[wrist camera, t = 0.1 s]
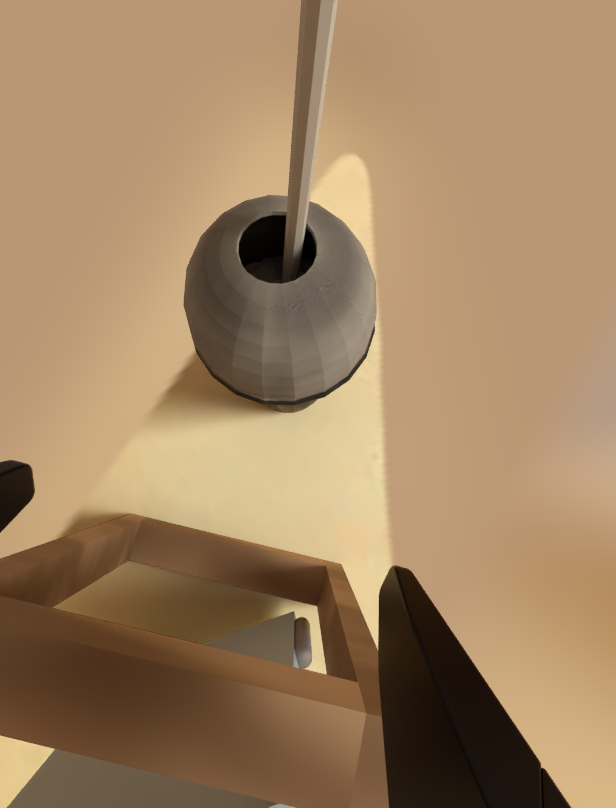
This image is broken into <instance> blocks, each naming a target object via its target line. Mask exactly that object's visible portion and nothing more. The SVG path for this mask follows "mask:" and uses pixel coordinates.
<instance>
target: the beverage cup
mask: <svg viewBox="0 0 616 808" xmlns="http://www.w3.org/2000/svg"><path fill="white" fill-rule="evenodd" d="M337 3H338V0H301V13H300V28H299V42H298V56H297V71H296V87H295V100H294V114H293V129H292V143H291V159H290V173H289V187H288V196H277V195H268V196H264V197H259V198H255V199H251V200H247V201H244V202H242V203H240V204H238V205H237V206H235V207H233V208H231V209H230V210H228V211H226V212H224V213H223V214H222V215H221V216H219V217H218V219H217V220H216V221H215V222H214V223H213V224H212V225H211V226H210V227H209V228H208V229H207V230H206V232H204V233H203V235H202V236H201V237H200V240H199V242H198V244H197V246H196V248H195V250H194V253H193V255H192V257H191V259H190V261H189V264H188V267H187V270H186V281H185V292H184V308H185V312H186V316H187V320H188V323H189V327H190V331H191V335H192V339H193V342H194V345H195V349H196V353H197V354H198V356H199V357H200V359H201V360H202V362H203V363H204V365H205V366H206V368H207V369H208V371H209V372H210V374H211V375H212V377H214V378H215V379H216V380H218V381H219V382H220V383H221V384H223V385H224V386H225V387H227V388H228V389H229V390H231V391H232V392H233V393H235V394H236V395H238V396H241V397H244V398H247V399H250V400H253V401H256V402H259V403H261V404H264V405H268V406H270V407H271V408H273V409H275V410H278V411H281V412H289V413H294V412H297V411H301V410H303V409H305V408H307V407H308V406H310V405H311V404H313V403H314V402H315V401H316V400H317V399H319V398H323V397H325V396H327V395H328V394H330V393H331V392H333V391H334V390H336V389H337V388H339V387H340V386H341V385H343V384H344V383H346V382H347V381H349V380H350V378H351V377H352V376H353V374H354V373H355V372H356V370H357V369H358V368H359V366H360V365H361V364H362V362H363V361H364V360H365V358H366V357H367V353H368V350H369V347H370V344H371V341H372V338H373V335H374V332H375V321H376V282H375V278H374V274H373V271H372V269H371V266H370V263H369V260H368V258H367V255H366V252H365V250H364V248H363V246H362V245H361V243H360V242H359V241H358V239H357V238H356V237H355V235H354V234H353V233H352V232H351V230H350V229H349V228H348V227H347V225H346V224H345V223H344V222H343V221H342V220H340V219H339V218H337V217H336V216H334V215H333V214H331V213H330V212H329V211H327V210H326V209H324V208H323V207H321V206H320V205H318V204H316V203H313V202H310V201H309V200H310V193H311V186H312V179H313V172H314V165H315V158H316V151H317V144H318V136H319V130H320V123H321V115H322V109H323V101H324V94H325V87H326V80H327V73H328V66H329V59H330V52H331V45H332V38H333V31H334V23H335V17H336V10H337Z"/></svg>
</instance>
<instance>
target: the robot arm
mask: <svg viewBox="0 0 616 808" xmlns="http://www.w3.org/2000/svg"><path fill="white" fill-rule="evenodd" d="M34 492H35V488H34V480H33V472H32V468H31V466H30V465H28V464H25V463H22V462H18V461H14V460H9V461H4V462H0V532H1V531H2V530H3V529H4V528H5V527H6V526H7V525H8V524H9V523H10V522H11V521H12V520H13V519H14V518H15V517H16V516H17V514H18V513H19V512H20V511H21V510H22V509H23V508H24V507H25V506H26V505H27V504H28V503H29V502H30V501H31V499H32V498H33V495H34ZM378 675H379V690H380V702H381V715H382V727H383V739H384V752H385V764H386V777H387V789H388V801H389V808H571V807H570V805H569V804H568V802H567V801H566V799H565V798H564V796H563V795H562V793H561V792H560V791H559V789H558V787H557V786H556V785H555V783H554V782H553V780H552V779H551V777H550V776H549V774H548V773H547V771H546V770H545V769H544V768H541V763H540V761H539V760H538V758H537V757H536V755H535V754H534V752H533V751H532V749H531V748H530V746H529V745H528V743H527V742H526V740H525V739H524V737H523V736H522V734H521V733H520V731H519V730H518V729H517V727H516V725H515V724H514V723H513V721H512V720H511V718H510V717H509V715H508V714H507V712H506V711H505V709H504V708H503V706H502V705H501V703H500V702H499V700H498V699H497V697H496V696H495V694H494V693H493V691H492V690H491V688H490V687H489V686H488V684H487V683H486V681H485V680H484V678H483V677H482V675H481V674H480V672H479V671H478V669H477V668H476V667H475V665H474V663H473V662H472V660H471V659H470V657H469V656H468V655H467V653H466V651H465V650H464V649H463V647H462V645H461V644H460V643H459V641H458V640H457V638H456V637H455V635H454V634H453V632H452V631H451V630H450V628H449V626H448V625H447V623H446V622H445V620H444V619H443V617H442V616H441V614H440V613H439V611H438V610H437V608H436V607H435V606H434V604H433V603H432V601H431V600H430V598H429V597H428V595H427V594H426V593H425V591H424V590H423V588H422V586H421V585H420V583H419V582H418V580H417V579H416V577H415V576H414V574H413V573H412V572H411V571H410V570H409V569H407V568H403V567H400V566H396V565H394V566H392V567H391V568H390V570H389V572H388V574H387V576H386V578H385V580H384V582H383V584H382V586H381V589H380V593H379V637H378Z"/></svg>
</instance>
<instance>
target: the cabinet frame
mask: <svg viewBox="0 0 616 808" xmlns="http://www.w3.org/2000/svg"><path fill="white" fill-rule="evenodd" d="M127 561H133V562H137V563H141V564H146V565H150V566H154V567H158V568H162V569H166V570H170V571H175V572H179V573H183V574H187V575H191V576H195V577H199V578H203V579H208V580H212V581H216V582H220V583H224V584H228V585H232V586H236V587H241V588H245V589H249V590H253V591H257V592H261V593H265V594H269V595H274V596H278V597H282V598H286V599H290V600H294V601H298V602H302V603H307V604H311V605H315V606H317V607H318V614H319V622H320V629H321V636H322V643H323V650H324V657H325V664H326V671H327V675H325V674H321V673H317V672H313V671H309V670H305V669H301V668H296V667H292V666H288V665H284V664H280V663H276V662H272V661H268V660H264V659H259V658H255V657H251V656H247V655H243V654H239V653H235V652H231V651H227V650H222V649H218V648H214V647H210V646H206V645H202V644H198V643H194V642H189V641H185V640H181V639H177V638H173V637H169V636H165V635H161V634H157V633H152V632H148V631H144V630H140V629H136V628H132V627H128V626H124V625H120V624H115V623H111V622H107V621H103V620H99V619H95V618H91V617H87V616H83V615H78V614H74V613H70V612H66V611H62V610H58V609H54V608H52V607H54V606H55V605H57V604H59V603H60V602H62V601H64V600H65V599H67V598H68V597H70V596H72V595H73V594H75V593H77V592H78V591H80V590H81V589H83V588H85V587H86V586H88V585H90V584H91V583H93V582H94V581H96V580H98V579H99V578H101V577H103V576H104V575H106V574H107V573H109V572H111V571H112V570H114V569H116V568H117V567H119V566H120V565H122V564H124V563H125V562H127ZM0 735H1V736H5V737H9V738H13V739H17V740H21V741H25V742H29V743H34V744H38V745H42V746H46V747H50V748H54V749H58V750H62V751H66V752H70V753H74V754H79V755H83V756H87V757H91V758H95V759H99V760H103V761H107V762H111V763H115V764H119V765H123V766H128V767H132V768H136V769H140V770H144V771H148V772H152V773H156V774H160V775H164V776H168V777H173V778H177V779H181V780H185V781H189V782H193V783H197V784H201V785H205V786H209V787H213V788H218V789H222V790H226V791H230V792H234V793H238V794H242V795H246V796H250V797H254V798H258V799H262V800H267V801H271V802H275V803H279V804H283V805H287V806H291V807H295V808H389V801H388V789H387V777H386V764H385V752H384V739H383V727H382V715H381V702H380V690H379V675H378V650H377V648H376V645H375V643H374V640H373V638H372V636H371V633H370V631H369V629H368V626H367V624H366V622H365V619H364V617H363V614H362V612H361V610H360V607H359V605H358V603H357V600H356V598H355V595H354V593H353V591H352V588H351V586H350V584H349V581H348V579H347V576H346V574H345V572H344V569H343V567H342V565H341V564H337V563H333V562H329V561H325V560H321V559H316V558H312V557H308V556H304V555H300V554H296V553H292V552H288V551H283V550H279V549H275V548H271V547H267V546H263V545H259V544H254V543H250V542H246V541H242V540H238V539H234V538H230V537H225V536H221V535H217V534H213V533H209V532H205V531H201V530H197V529H192V528H188V527H184V526H180V525H176V524H172V523H168V522H163V521H159V520H155V519H151V518H147V517H143V516H139V515H135V514H129V515H127V516H124V517H121V518H118V519H115V520H112V521H109V522H106V523H103V524H100V525H97V526H94V527H91V528H89V529H86V530H83V531H80V532H77V533H74V534H71V535H68V536H65V537H62V538H59V539H56V540H54V541H51V542H48V543H45V544H42V545H39V546H36V547H33V548H30V549H27V550H24V551H21V552H19V553H16V554H13V555H10V556H7V557H4V558H1V559H0Z"/></svg>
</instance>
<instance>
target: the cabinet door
mask: <svg viewBox="0 0 616 808" xmlns="http://www.w3.org/2000/svg"><path fill="white" fill-rule="evenodd" d="M201 644H202V645H206V646H210V647H214V648H218V649H222V650H227V651H231V652H235V653H239V654H243V655H247V656H251V657H255V658H259V659H264V660H268V661H272V662H276V663H280V664H284V665H288V666H292V667H296V668H301V669H304V668H307V667H308V666H309V665H310V664H311V662H312V649H311V636H310V624H309V622H308V620H307V619H306V618H303V617H300V618H298V619H296V617H295V613H294V611H293V612H291V613H288V614H285V615H282V616H279V617H276V618H273V619H270V620H267V621H265V622H262V623H259V624H256V625H253V626H250V627H247V628H244V629H241V630H238V631H236V632H233V633H230V634H227V635H224V636H221V637H218V638H215V639H212V640H210V641H207V642H204V643H201ZM7 808H295V807H291V806H287V805H283V804H279V803H275V802H271V801H267V800H262V799H258V798H254V797H250V796H246V795H242V794H238V793H234V792H230V791H226V790H222V789H218V788H213V787H209V786H205V785H201V784H197V783H193V782H189V781H185V780H181V779H177V778H173V777H168V776H164V775H160V774H156V773H152V772H148V771H144V770H140V769H136V768H132V767H128V766H123V765H119V764H115V763H111V762H107V761H103V760H99V759H95V758H91V757H87V756H83V755H79V754H74V753H70V752H66V751H62V750H58V749H55V750H54V751H53V752H52V754H51V755H50V756H49V757H48V759H47V760H46V761H45V762H44V763H43V765H42V766H41V767H40V768H39V769H38V771H37V772H36V773H35V774H34V775H33V777H32V778H31V779H30V780H29V782H28V783H27V784H26V785H25V786H24V788H23V789H22V790H21V791H20V792H19V794H18V795H17V796H16V797H15V798H14V800H13V801H12V802H11V803H10V805H9V806H8V807H7Z"/></svg>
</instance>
